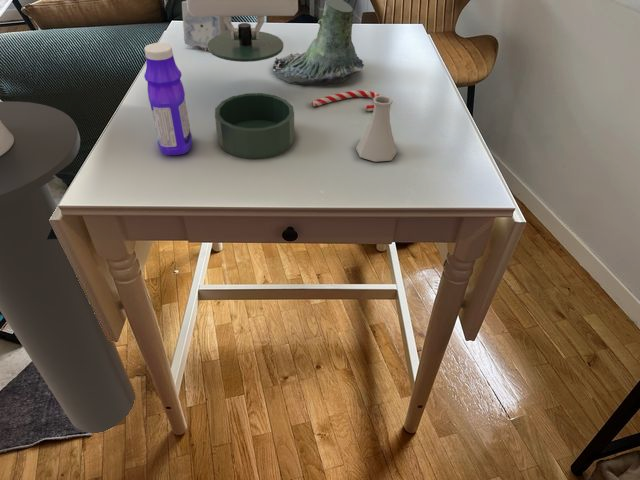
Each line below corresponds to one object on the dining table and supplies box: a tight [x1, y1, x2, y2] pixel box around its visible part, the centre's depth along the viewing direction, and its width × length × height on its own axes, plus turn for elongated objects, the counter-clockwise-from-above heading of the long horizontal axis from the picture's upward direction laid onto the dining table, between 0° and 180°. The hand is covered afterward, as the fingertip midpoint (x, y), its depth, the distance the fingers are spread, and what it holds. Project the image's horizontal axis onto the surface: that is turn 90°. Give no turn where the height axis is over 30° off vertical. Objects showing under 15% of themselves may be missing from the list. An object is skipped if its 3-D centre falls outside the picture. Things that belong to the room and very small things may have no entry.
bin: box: [214, 92, 295, 160], centre depth 86 cm, size 14×14×6 cm
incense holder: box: [181, 0, 231, 52], centre depth 116 cm, size 10×8×10 cm
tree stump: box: [272, 0, 365, 86], centre depth 107 cm, size 18×20×18 cm
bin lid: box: [207, 22, 284, 63], centre depth 93 cm, size 15×15×5 cm
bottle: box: [143, 42, 193, 156], centre depth 79 cm, size 7×6×17 cm
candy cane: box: [311, 90, 380, 112], centre depth 99 cm, size 8×1×15 cm
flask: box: [355, 94, 397, 163], centre depth 83 cm, size 7×7×10 cm
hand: (245, 39), depth 94 cm, fingers closed on bin lid, 2 cm apart
